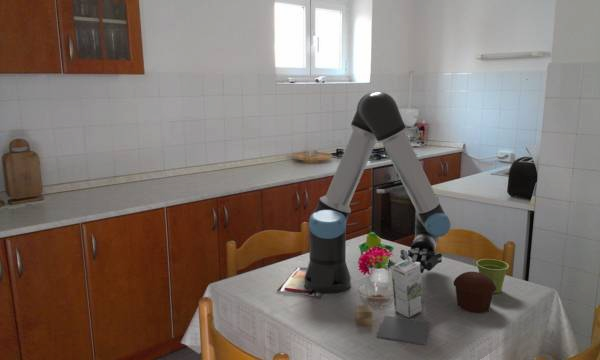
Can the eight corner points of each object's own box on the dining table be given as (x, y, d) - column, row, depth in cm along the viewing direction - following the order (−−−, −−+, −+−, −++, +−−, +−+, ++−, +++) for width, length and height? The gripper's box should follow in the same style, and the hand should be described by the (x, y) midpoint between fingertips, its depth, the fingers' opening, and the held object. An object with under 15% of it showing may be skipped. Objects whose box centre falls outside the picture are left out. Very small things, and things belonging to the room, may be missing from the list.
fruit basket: (394, 259, 180) (395, 230, 178) (381, 266, 173) (382, 236, 171) (368, 253, 187) (369, 225, 185) (355, 259, 181) (355, 230, 179)
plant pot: (502, 299, 145) (504, 271, 144) (470, 291, 151) (472, 265, 150) (510, 288, 153) (512, 262, 151) (480, 282, 158) (481, 256, 157)
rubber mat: (376, 337, 124) (376, 335, 124) (385, 316, 135) (385, 315, 135) (424, 345, 120) (424, 343, 120) (429, 323, 131) (429, 322, 131)
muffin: (497, 303, 143) (499, 271, 141) (492, 318, 133) (494, 284, 131) (456, 295, 148) (457, 264, 147) (448, 309, 139) (450, 276, 137)
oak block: (357, 326, 130) (357, 312, 129) (355, 319, 134) (355, 305, 133) (371, 325, 130) (372, 312, 129) (369, 319, 134) (369, 305, 133)
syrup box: (409, 303, 141) (404, 258, 137) (424, 310, 136) (420, 264, 132) (394, 310, 138) (389, 265, 134) (409, 319, 133) (405, 271, 129)
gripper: (443, 261, 157) (438, 289, 135) (402, 257, 161) (391, 283, 139) (444, 239, 156) (439, 264, 134) (403, 235, 160) (392, 259, 138)
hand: (415, 274), depth 137 cm, fingers closed
